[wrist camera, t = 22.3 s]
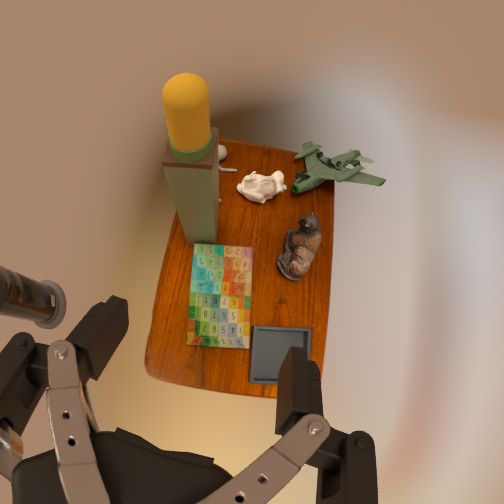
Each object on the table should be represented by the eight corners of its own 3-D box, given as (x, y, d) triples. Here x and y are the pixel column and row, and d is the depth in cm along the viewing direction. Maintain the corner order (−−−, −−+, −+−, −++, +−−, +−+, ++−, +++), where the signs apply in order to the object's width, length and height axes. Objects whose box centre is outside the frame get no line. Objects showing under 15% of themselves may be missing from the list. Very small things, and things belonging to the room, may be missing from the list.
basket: (247, 380, 51) (249, 383, 47) (251, 325, 55) (253, 325, 51) (302, 381, 52) (308, 384, 48) (306, 328, 55) (311, 328, 52)
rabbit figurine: (287, 185, 65) (296, 162, 56) (287, 213, 63) (298, 192, 53) (237, 180, 64) (240, 156, 55) (235, 209, 62) (237, 187, 52)
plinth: (188, 244, 58) (161, 162, 30) (192, 219, 60) (172, 125, 32) (215, 247, 59) (211, 164, 30) (218, 221, 60) (218, 127, 32)
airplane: (285, 177, 58) (289, 210, 66) (390, 187, 51) (383, 221, 59) (302, 129, 72) (304, 158, 80) (382, 136, 65) (379, 165, 72)
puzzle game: (253, 245, 55) (249, 349, 49) (251, 252, 59) (247, 348, 53) (194, 241, 54) (185, 345, 48) (196, 248, 58) (188, 344, 52)
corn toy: (166, 161, 30) (150, 93, 20) (175, 130, 31) (165, 63, 21) (208, 164, 30) (206, 93, 20) (214, 132, 32) (215, 64, 22)
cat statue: (303, 285, 58) (318, 275, 49) (271, 276, 58) (281, 263, 48) (314, 235, 62) (330, 217, 52) (285, 226, 62) (296, 206, 52)
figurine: (230, 188, 56) (234, 136, 61) (202, 190, 56) (208, 138, 61) (235, 203, 62) (237, 152, 67) (209, 204, 62) (214, 154, 67)
